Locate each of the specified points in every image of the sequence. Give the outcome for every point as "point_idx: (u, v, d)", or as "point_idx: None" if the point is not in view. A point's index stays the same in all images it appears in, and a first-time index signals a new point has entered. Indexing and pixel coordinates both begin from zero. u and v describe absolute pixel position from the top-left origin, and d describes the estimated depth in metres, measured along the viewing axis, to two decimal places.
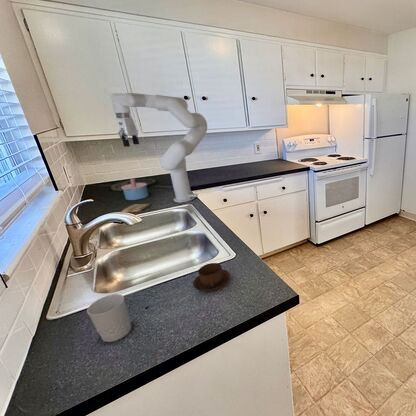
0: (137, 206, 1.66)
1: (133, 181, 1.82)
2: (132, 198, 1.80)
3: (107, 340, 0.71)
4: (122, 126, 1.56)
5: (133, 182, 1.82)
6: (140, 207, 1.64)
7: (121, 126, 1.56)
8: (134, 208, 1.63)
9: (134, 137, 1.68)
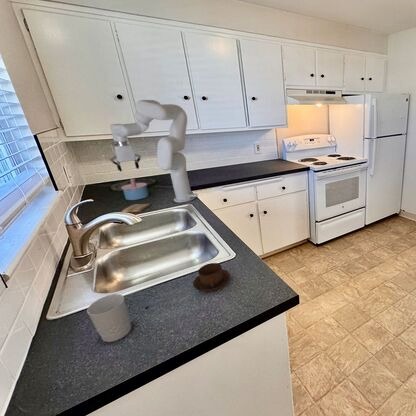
0: (137, 206, 1.66)
1: (133, 181, 1.82)
2: (132, 198, 1.80)
3: (107, 340, 0.71)
4: (115, 153, 1.71)
5: (133, 182, 1.82)
6: (140, 207, 1.64)
7: (115, 153, 1.72)
8: (134, 208, 1.63)
9: (135, 162, 1.81)
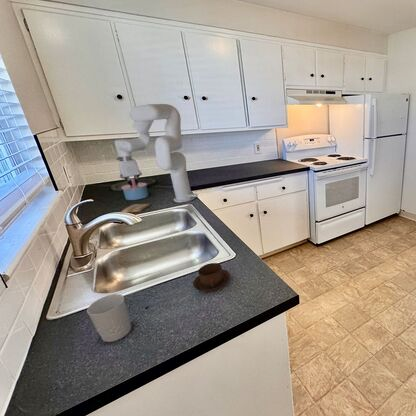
0: (137, 206, 1.66)
1: (133, 181, 1.82)
2: (132, 198, 1.80)
3: (107, 340, 0.71)
4: (120, 168, 1.75)
5: (133, 182, 1.82)
6: (140, 207, 1.64)
7: None
8: (134, 208, 1.63)
9: None
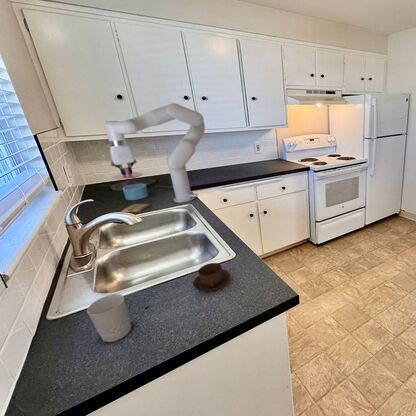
0: (137, 206, 1.66)
1: (126, 170, 1.58)
2: (132, 198, 1.80)
3: (107, 340, 0.71)
4: None
5: (126, 171, 1.58)
6: (140, 207, 1.64)
7: None
8: (134, 208, 1.63)
9: (128, 167, 1.60)
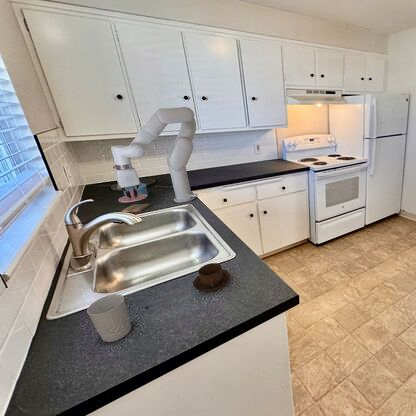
0: (137, 206, 1.66)
1: (132, 192, 1.60)
2: None
3: (107, 340, 0.71)
4: (117, 178, 1.54)
5: (132, 193, 1.61)
6: (140, 207, 1.64)
7: None
8: (134, 208, 1.63)
9: None
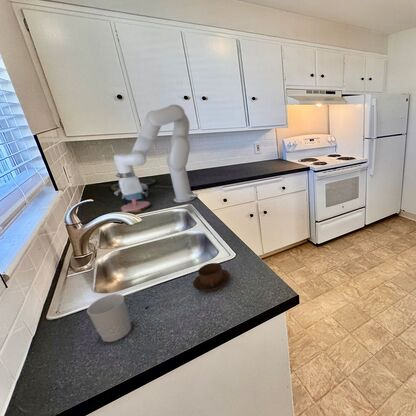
0: None
1: (134, 200, 1.62)
2: None
3: (107, 340, 0.71)
4: (120, 186, 1.56)
5: (134, 201, 1.63)
6: None
7: None
8: None
9: (141, 194, 1.66)
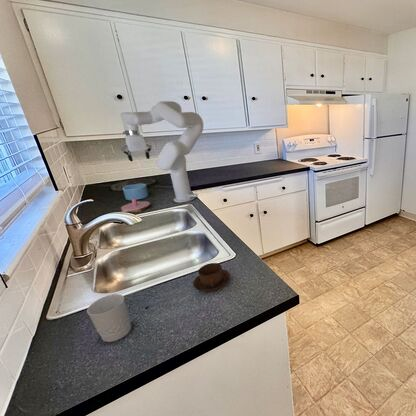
0: None
1: (134, 200, 1.62)
2: None
3: (107, 340, 0.71)
4: (126, 142, 1.67)
5: (134, 201, 1.63)
6: None
7: (126, 142, 1.68)
8: None
9: (146, 152, 1.78)
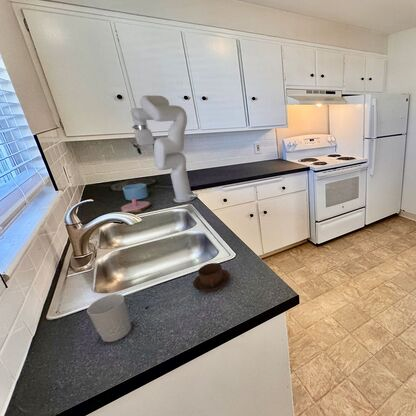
0: None
1: (134, 200, 1.62)
2: None
3: (107, 340, 0.71)
4: (135, 136, 1.80)
5: (134, 201, 1.63)
6: None
7: (135, 136, 1.80)
8: None
9: (153, 146, 1.90)
